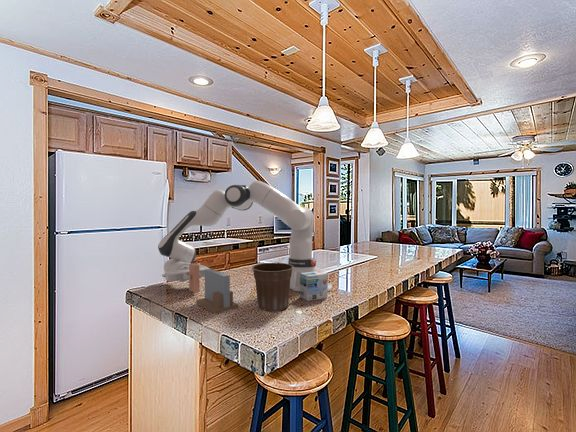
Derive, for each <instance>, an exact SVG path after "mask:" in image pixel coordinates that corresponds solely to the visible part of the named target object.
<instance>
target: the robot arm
mask: <svg viewBox="0 0 576 432" xmlns="http://www.w3.org/2000/svg"><path fill="white" fill-rule="evenodd" d="M254 203H256V204H257V205H259V206H260V207H262V208H264V209H265V210H267V211H268V212H269V213H271V214H273V215H274V216H275V217H277V218H278V219H279V220H281V222H283V223H284V224H285V225H287V226H288V228H290V229H291V231H290V233H291V234H290V238H289V242H288V243H289V254H288V255H289V257H288V259H287V260H288V261H287V264H290V265H292V266H293V269H292V276H291V279H290V290H291V291H294V292H300V273H306V272H315V271H321V272H324V271H323V270H322V269H320V268H319V267H318V266H317V259H315V258H313V237H314V236H313V235H314V226H315V225H314V224H315V215H314V212H313V210H311V209H310V208H308V207H305V206H301V205H299V204H297V203H296V202H295V201H293V199H291V198H290V197H289V196H287V195H286V194H285V193H282V192H281V191H280V190H278V189H277V188H275V187H273V186H272V185H270V184H268V183H266V182H264V181H261V180H255V181H253V182H251V184H249V186H247V185H246V184H245V185H243V184H233V185H229V186H228V187H227V188H226V189H225V190H222V189H216V190H214V191H213V192H212V193H211V194H210V195H209V196H208V197H207V199H205V201H204V203H203V204H202V205H201V206H200V207H199V208H198V209H196V210H191V211H189V212H188V213H187V214H186V215H185V216H184V217H183V218H182V219H181V220H180V221H179V222H178V223H177V224H176V225H175V226H174V228H172V230H171V231H169V232H168V233H167V234H166V235H165V236H163V237H162V238H161V240H160V241H159V243H158V246H157V249H158V251H159V254H160V255H161V256H164V257H167V258H169V259H168V260H166V261H165V262H164V263H163V271H164V273H162V274H161V276H162V277H163V278H165V281H166V282H168V283H172V282H177V281H179V282H183V283H184V282H187V281H188V280H190V279H192V275H189V264H193V263H195V264H198V265H199V279H201V278H203V277H204V278H205V269H211V268H210V267H208V266H205V265H201V263H200V262H199V263H197V262H195V260H196V257H197V251H196V248H195V247H194V246H193V245H191V244H189V243H187V242H184V240H180V239H179V238H180V237H181V236H182V235H183V233H185V232H186V230H187V229H188V228H190V227H193V226H194V227H195V226H202V227H212V226H214V225H217V224H218V223H219V221H220V219H221V218H222V217H223V215H225V213H226V211H228V209H230V208H232V209H235V210H238V211H247V210H249V209H250V208H251V207H252V206H253V204H254ZM332 289H333V285H332V284H331V283H330V282H328V291H327V293H328V292H329V291H331V290H332Z"/></svg>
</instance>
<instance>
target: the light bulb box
mask: <svg viewBox="0 0 576 432" xmlns="http://www.w3.org/2000/svg"><path fill="white" fill-rule="evenodd" d="M321 271H322V270H321ZM321 271H315V272H306V273H300V291H299V298H302V299H303V300H305V301H306V302H310V301H315V300H322V299H328V292H329V291H328V283H329V282H328V281H329V280H328V279H329V278H328V277H329V274H328V273H326V272H324V271H323V272H321ZM327 291H328V292H327Z"/></svg>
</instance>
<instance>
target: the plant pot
mask: <svg viewBox="0 0 576 432" xmlns="http://www.w3.org/2000/svg"><path fill="white" fill-rule="evenodd" d="M251 269H252V271H253V279H254V281H255V290H256V299H257V307H258V309H259V310H261V311H266V312H280V311H283V310H286V309H288V308H289V305H290V304H289V303H290V300H289V299H290V290H291V289H290V279H291V276H292V269H293V266H292V265H290V264H288V263H284V262H266V263H259V264H256V265H252V267H251Z"/></svg>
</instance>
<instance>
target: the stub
mask: <svg viewBox="0 0 576 432" xmlns="http://www.w3.org/2000/svg"><path fill="white" fill-rule="evenodd" d="M195 263H196V262H193V264H189V275H192V279H190V280H189V285H188V286H189V289H188V290H189V291H190V292H191V293H194V294H195V293H199V292H200V278H199V265H198V264H195Z"/></svg>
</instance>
